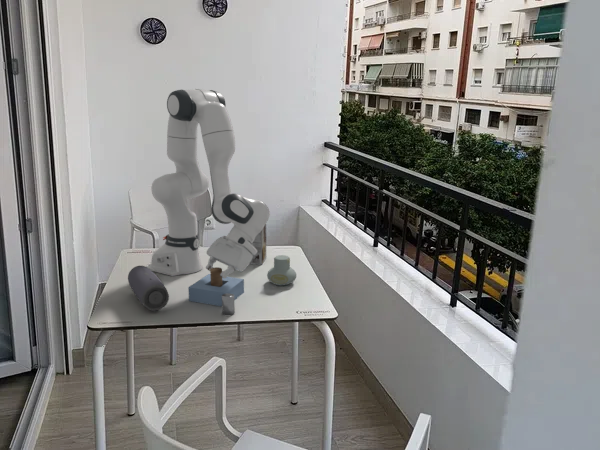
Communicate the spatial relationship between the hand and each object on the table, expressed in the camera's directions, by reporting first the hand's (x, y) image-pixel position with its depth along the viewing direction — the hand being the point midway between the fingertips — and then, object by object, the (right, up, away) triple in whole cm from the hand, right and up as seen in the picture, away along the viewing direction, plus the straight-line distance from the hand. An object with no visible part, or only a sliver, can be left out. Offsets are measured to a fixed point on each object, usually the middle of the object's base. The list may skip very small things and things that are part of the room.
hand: (214, 273), depth 177 cm
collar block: (0, -8, +3) cm, 9 cm away
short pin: (+6, -12, -11) cm, 17 cm away
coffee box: (+11, +1, +41) cm, 43 cm away
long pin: (0, -8, +3) cm, 9 cm away
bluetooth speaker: (-22, -10, -3) cm, 24 cm away
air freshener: (+22, -5, +17) cm, 29 cm away
